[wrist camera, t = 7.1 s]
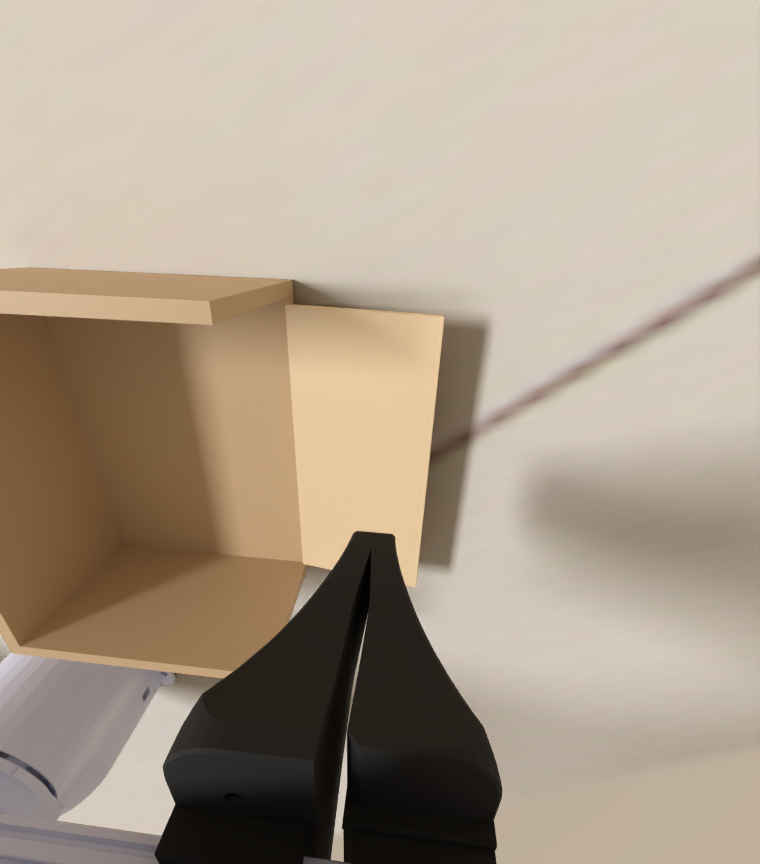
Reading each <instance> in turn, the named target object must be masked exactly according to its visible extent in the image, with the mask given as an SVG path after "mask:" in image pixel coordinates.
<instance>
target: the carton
mask: <svg viewBox="0 0 760 864" xmlns="http://www.w3.org/2000/svg"><path fill="white" fill-rule="evenodd" d="M287 304H294V297H293V280H286V279H264V278H242V277H221V276H199V275H178V274H156V273H134V272H113V271H91V270H69V269H48V268H11V269H0V634H1V635H2V637H3V639H4V640H5V642H6V644H7V645H8V647H9V649H10V650H11V652H12V654H20V655H29V656H37V657H46V658H54V659H62V660H71V661H79V662H88V663H96V664H105V665H113V666H122V667H130V668H139V669H147V670H155V671H164V672H172V673H181V674H189V675H198V676H206V677H215V678H223V679H224V678H225V677H226V676H228V675H229V674H230V673H232V672H233V671H234V670H236V669H237V668H238V667H240V666H241V665H242V664H243V663H244V662H246V661H247V660H248V659H249V658H250V657H252V656H253V655H254V654H255V653H256V652H257V651H259V650H260V649H261V648H262V647H263V646H264V645H266V644H267V643H268V642H269V641H270V640H271V639H272V638H273V637H274V636H275V635H276V634H278V633H279V632H280V631H281V630H282V629H283V628H284V627H285V626H286V625H287V624H288V623H289V620H290V617H291V614H292V611H293V608H294V605H295V603H296V600H297V597H298V594H299V591H300V588H301V585H302V582H303V580H304V577H305V574H306V571H307V568H308V565H305V564H303V555H302V541H301V527H300V512H299V498H298V484H297V469H296V455H295V441H294V426H293V412H292V398H291V384H290V369H289V355H288V341H287V326H286V312H285V305H287Z"/></svg>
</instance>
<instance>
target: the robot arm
mask: <svg viewBox="0 0 760 864" xmlns="http://www.w3.org/2000/svg"><path fill="white" fill-rule="evenodd" d="M368 610H369V611H368ZM367 615H368V617H367ZM366 620H367V623H366ZM365 624H366V630H365V636H364V642H363V648H362V654H361V660H360V666H359V671H358V677H357V683H356V688H355V693H354V699H353V704H352V709H351V714H350V720H349V725H348V730H347V722H348V715H349V707H350V700H351V692H352V686H353V680H354V675H355V670H356V665H357V661H358V656H359V652H360V647H361V642H362V638H363V633H364V629H365ZM175 680H176V678H175V675H174V673H172V672H164V671H155V670H147V669H139V668H130V667H122V666H113V665H105V664H96V663H88V662H79V661H71V660H62V659H54V658H46V657H37V656H29V655H20V654H12V652H11V653H10V654H9V655H8V656H7V657H6V658H5V659H4V660H3V661H2V662H1V663H0V864H496V857H495V850H496V848H497V842H496V835H495V826H494V818H495V815H496V813H497V810H498V807H499V804H500V801H501V799H502V785H501V780H500V776H499V772H498V768H497V764H496V761H495V757H494V754H493V752H492V749H491V746H490V743H489V740H488V738H487V735H486V732H485V730H484V727H483V725H482V724H481V723H480V721H479V720H478V719H477V717H476V716H475V714H474V713H473V712H472V710H471V709H470V707H469V706H468V705H467V703H466V702H465V700H464V699H463V697H462V696H461V694H460V693H459V691H458V690H457V688H456V687H455V685H454V684H453V682H452V681H451V679H450V677H449V676H448V674H447V672H446V671H445V669H444V667H443V665H442V664H441V662H440V660H439V659H438V657H437V655H436V653H435V652H434V650H433V648H432V646H431V644H430V642H429V640H428V638H427V636H426V634H425V632H424V630H423V628H422V626H421V624H420V622H419V619H418V617H417V615H416V612H415V610H414V608H413V605H412V602H411V600H410V597H409V594H408V592H407V589H406V586H405V583H404V579H403V576H402V573H401V569H400V565H399V561H398V557H397V551H396V542H395V536H394V535H393V534H388V533H377V532H365V531H356V532H354V533H353V535H352V537H351V539H350V541H349V543H348V545H347V547H346V548H345V550H344V552H343V554H342V555H341V557H340V558H339V560H338V562H337V563H336V564H335V566H334V567H333V569H332V570H331V572H330V573H329V575H328V576H327V578H326V579H325V580H324V582H323V583H322V584H321V585H320V587H319V588H318V589H317V591H316V592H315V593H314V594H313V596H312V597H311V598H310V599H309V601H308V602H307V603H306V604H305V605H304V606H303V608H302V609H301V610H300V611H299V612H298V613H297V614H296V615H295V616H294V617H293V618H292V619H291V621H290V622H289V623H288V624H287V625H286V626H285V627H284V628H283V629H282V630H281V631H280V632H279V633H278V634H276V635H275V636H274V637H273V638H272V639H271V640H270V641H269V642H268V643H267V644H266V645H264V646H263V647H262V648H261V649H260V650H259V651H257V652H256V653H255V654H254V655H253V656H252V657H250V658H249V659H248V660H247V661H246V662H244V663H243V664H242V665H241V666H240V667H238V668H237V669H236V670H234V671H233V672H232V673H230V674H229V675H228V676H226V677H225V678H224V679H222V680H221V681H220V682H218V683H217V684H215V685H214V686H213V687H211V688H210V689H209V690H207V691H206V692H204V693H203V694H202V695H201V697H200V698H199V700H198V701H197V703H196V704H195V706H194V707H193V709H192V710H191V712H190V714H189V715H188V717H187V719H186V720H185V722H184V723H183V725H182V727H181V729H180V731H179V733H178V735H177V737H176V739H175V741H174V743H173V745H172V747H171V749H170V751H169V754H168V756H167V758H166V760H165V762H164V765H163V771H164V776H165V780H166V782H167V785H168V787H169V789H170V792H171V794H172V797H173V799H174V801H175V804H176V805H175V807H174V809H173V812H172V814H171V816H170V818H169V821H168V823H167V825H166V828H165V830H164V832H163V835H162V836H159V835H152V834H145V833H138V832H131V831H124V830H117V829H110V828H103V827H96V826H89V825H82V824H75V823H68V822H61V821H57V819H58V818H59V816H60V815H62V814H64V813H66V812H68V811H69V810H71V809H73V808H74V807H75V806H77V805H78V804H79V803H81V802H82V801H83V800H84V799H85V798H86V797H88V796H89V795H90V794H91V793H92V792H93V791H94V790H95V789H96V788H97V786H98V785H99V784H100V783H101V782H102V781H103V779H104V778H105V777H106V775H107V774H108V773H109V771H110V769H111V768H112V766H113V765H114V763H115V761H116V759H117V758H118V756H119V754H120V753H121V751H122V749H123V748H124V746H125V744H126V743H127V741H128V739H129V737H130V736H131V734H132V732H133V731H134V729H135V727H136V726H137V724H138V722H139V721H140V719H141V717H142V715H143V714H144V712H145V710H146V709H147V707H148V705H149V704H150V702H151V700H152V699H153V697H154V695H155V693H156V692H157V690H158V688H159V687H160V685H167V686H170V685H173V683H174V682H175ZM346 730H347V792H346V800H345V808H344V815H343V824H342V829H344V862H340V861H333V860H331V852H332V843H333V835H334V827H335V818H336V810H337V802H338V794H339V786H340V777H341V769H342V761H343V754H344V746H345V738H346Z"/></svg>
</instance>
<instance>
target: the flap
mask: <svg viewBox="0 0 760 864" xmlns="http://www.w3.org/2000/svg"><path fill="white" fill-rule="evenodd" d="M285 312H286V326H287V341H288V355H289V369H290V384H291V398H292V412H293V426H294V441H295V455H296V469H297V484H298V498H299V512H300V527H301V541H302V555H303V564H305V565H310V566H315V567H320V568H324V569H329V570H332V569H333V567H334V566H335V564H336V563H337V562H338V560H339V558H340V557H341V555H342V554H343V552H344V550H345V548H346V547H347V545H348V543H349V541H350V539H351V537H352V535H353V533H354V532H356V531H365V532H377V533H388V534H393V535H394V536H395V542H396V551H397V557H398V561H399V565H400V569H401V573H402V576H403V579H404V583H405V585H406V586H411V587H416V583H417V574H418V565H419V555H420V546H421V537H422V527H423V518H424V508H425V499H426V490H427V480H428V471H429V461H430V452H431V443H432V433H433V424H434V415H435V405H436V396H437V386H438V377H439V368H440V358H441V349H442V339H443V330H444V321H445V315H435V314H421V313H407V312H393V311H380V310H366V309H352V308H338V307H324V306H310V305H296V304H287V305H285Z"/></svg>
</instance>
